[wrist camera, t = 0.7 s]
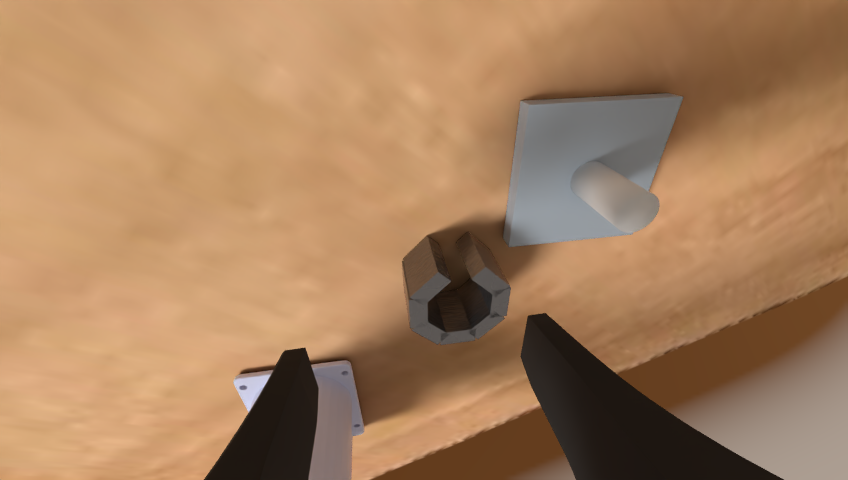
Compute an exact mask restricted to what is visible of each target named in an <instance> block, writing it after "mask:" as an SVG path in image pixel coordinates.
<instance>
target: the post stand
mask: <svg viewBox="0 0 848 480" xmlns="http://www.w3.org/2000/svg"><path fill="white" fill-rule="evenodd" d="M682 100H683V96H678V95H674V94H670V93H661V94H642V95H622V96H603V97H583V98H563V99H544V100H524V101H521V102H520V110H519V118H518V126H517V133H516V141H515V149H514V157H513V164H512V172H511V180H510V188H509V195H508V203H507V211H506V219H505V226H504V234H503V239H504V241H505V242H506V244H507V245H508V247H515V246H525V245H535V244H544V243H554V242H564V241H573V240H583V239H593V238H602V237H612V236H621V235H631V234H633V232H636V231H639V230H641V229H643V228H644V227H646V226H647V225H648V224H649V223H651V222H652V220H653V219H654V218H655V216H656V215H657V213H658V210H659V200H658V198H657V197H656V196H655V195H654V194H652V193H650V192H649V188H650V186H651V183H652V180H653V178H654V175H655V172H656V170H657V167H658V164H659V162H660V159H661V156H662V153H663V151H664V148H665V145H666V143H667V140H668V137H669V135H670V132H671V129H672V127H673V124H674V121H675V119H676V116H677V113H678V110H679V108H680V105H681V102H682Z"/></svg>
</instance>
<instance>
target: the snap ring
mask: <svg viewBox="0 0 848 480" xmlns="http://www.w3.org/2000/svg"><path fill="white" fill-rule="evenodd" d="M456 244H457V246H458V249H459V251H460V253H461V256H462V258H463V261H464V263H465V265H466V268H467V270H468V272H469V275H470V277H471V278H470V279H469V280H468V281H467V282H466V283H465V284H464V285H462V286H461V287H460V288H459V289H458V290H453V291H444V292H440V291H441V290H442V289H443V288H444V287H446V286H447V285H448V284H449V283H450V282H451V279H450V276H449V273H448V270H447V267H446V264H445V261H444V258H443V255H442V252H441V249H440V247H439V244H438V243H436V242H435V241H434V240H432V239H431V238H430V237H428V236H426V237H425V238H424V239H423V240H422V241H421V242H420V243H419V244H418V245H417V246H416V247H415V248H414V249H413V250H412V251H411V252H410V253H409V254H407V255H406V256H405V257H404V258H403V260H404V261H402V267H403V282H404V292H405V298H406V305H407V311H408V317H409V324H410V328H411V329H412V331H414V332H416V333H417V334H419V335H421V336H423V337H425V338H427V339H428V340H430V341H432V342H434V343H436V344H437V345H438V344H439V343H440V344H441V345H445V344H452V343H460V342H467V341H474V340H475V337H476V338H477V339H479V338H480V337H482V336H483V335H484V334H485V333H487V332H488V331H489V330H490V329H492V328H493V327H494V326H496V325H497V324H498V323H499V322H501V321H502V320H503V319H505V318H504V316H506V315H507V309H508V303H509V296H510V290H511V288H510V285H509V283H508V282H507V280H506V278H505V276H504V274H503V273H502V271H501V269H500V267H499V265H498V264H497V262H496V260H495V258H494V256H493V255H492V253H491V251H490V249H488V248H487V247H486V246H485V245H483V244H482V243H481V242H480V241H479V240H477V239H476V238H475V237H474V236H473V235H471V234H470V233H469V232H467V233H466V234H465V235H464V236H463V237H462V238H460V239H459V240H458V241H457V242H456Z"/></svg>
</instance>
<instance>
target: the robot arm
mask: <svg viewBox="0 0 848 480" xmlns="http://www.w3.org/2000/svg"><path fill="white" fill-rule="evenodd" d="M521 359H522V362H523V365H524V368H525V370H526V373H527V376H528V379H529V381H530V384H531V386H532V389H533V391H534V393H535V395H536V397H537V399H538V401H539V403H540V405H541V407H542V409H543V411H544V413H545V415H546V417H547V419H548V421H549V423H550V425H551V427H552V429H553V431H554V433H555V435H556V437H557V439H558V441H559V443H560V445H561V447H562V449H563V451H564V453H565V455H566V457H567V459H568V461H569V463H570V466H571V468H572V470H573V473H574V475H575V478H576V480H784V479H782V478H780V477H778V476H776V475H774V474H772V473H770V472H769V471H767V470H765V469H763V468H761V467H759V466H758V465H756V464H754V463H752V462H750V461H748V460H746V459H745V458H743V457H741V456H739V455H738V454H736V453H734V452H732V451H731V450H729V449H727V448H725V447H724V446H722V445H720V444H719V443H717V442H715V441H714V440H712V439H711V438H709V437H707V436H706V435H704V434H702V433H701V432H699V431H697V430H695V429H694V428H692V427H691V426H689V425H688V424H686V423H684V422H683V421H681V420H680V419H678V418H677V417H675V416H674V415H672V414H671V413H669V412H668V411H666V410H665V409H663V408H662V407H661V406H659V405H658V404H656V403H655V402H653V401H652V400H650V399H649V398H647V397H646V396H645V395H643V394H642V393H640V392H639V391H638V390H636V389H635V388H634V387H633V386H631V385H630V384H628V383H627V382H626V381H625V380H623V379H622V378H621V377H619V376H618V375H617V374H616V373H614V372H613V371H612V370H611V369H609V368H608V367H607V366H606V365H605V364H603V363H602V362H601V361H600V360H599V359H597V358H596V357H595V356H594V355H593V354H591V353H590V352H589V351H588V350H587V349H586V348H584V347H583V346H582V345H581V344H580V343H579V342H577V341H576V340H575V339H574V338H573V337H572V336H571V335H570V334H568V333H567V332H566V331H565V330H564V329H563V328H562V327H561V326H559V325H558V324H557V323H556V322H555V321H554V320H553V319H552V318H550V317H549V316H548V315H547V314H546V313H543V314H536V315H530V316H528V318H527V324H526V329H525V335H524V340H523V346H522V351H521ZM233 383H234V385H235V387H236V389H237V391H238V393H239V395H240V397H241V399H242V400H243V402H244V404H245V406H246V408H247V410H248V412H249V413H248V415H247V416H246V418H245V420H244V421H243V423H242V424H241V426H240V428H239V429H238V431H237V432H236V434H235V435H234V437H233V438H232V440H231V441H230V443H229V444H228V446H227V447H226V449H225V450H224V452H223V453H222V455H221V456H220V458H219V459H218V461H217V462H216V463H215V465H214V466H213V468H212V469H211V470H210V472H209V473H208V475H207V476H206V477H205V479H204V480H351V474H352V436H356V435H361V434H363V433H364V424H363V419H362V414H361V409H360V405H359V400H358V395H357V390H356V385H355V381H354V376H353V371H352V366H351V363H350V362H349V361H346V360H342V361H335V362H327V363H320V364H313V365H311V363H310V360H309V357H308V354H307V351H306V348H300V349H293V350H286V351H284V352H283V353H282V355H281V357H280V359H279V361H278V362H277V364H276V366H275V368H274V370H269V371H261V372H254V373H247V374H240V375H237V376H236V377H235V379H234V382H233Z"/></svg>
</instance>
